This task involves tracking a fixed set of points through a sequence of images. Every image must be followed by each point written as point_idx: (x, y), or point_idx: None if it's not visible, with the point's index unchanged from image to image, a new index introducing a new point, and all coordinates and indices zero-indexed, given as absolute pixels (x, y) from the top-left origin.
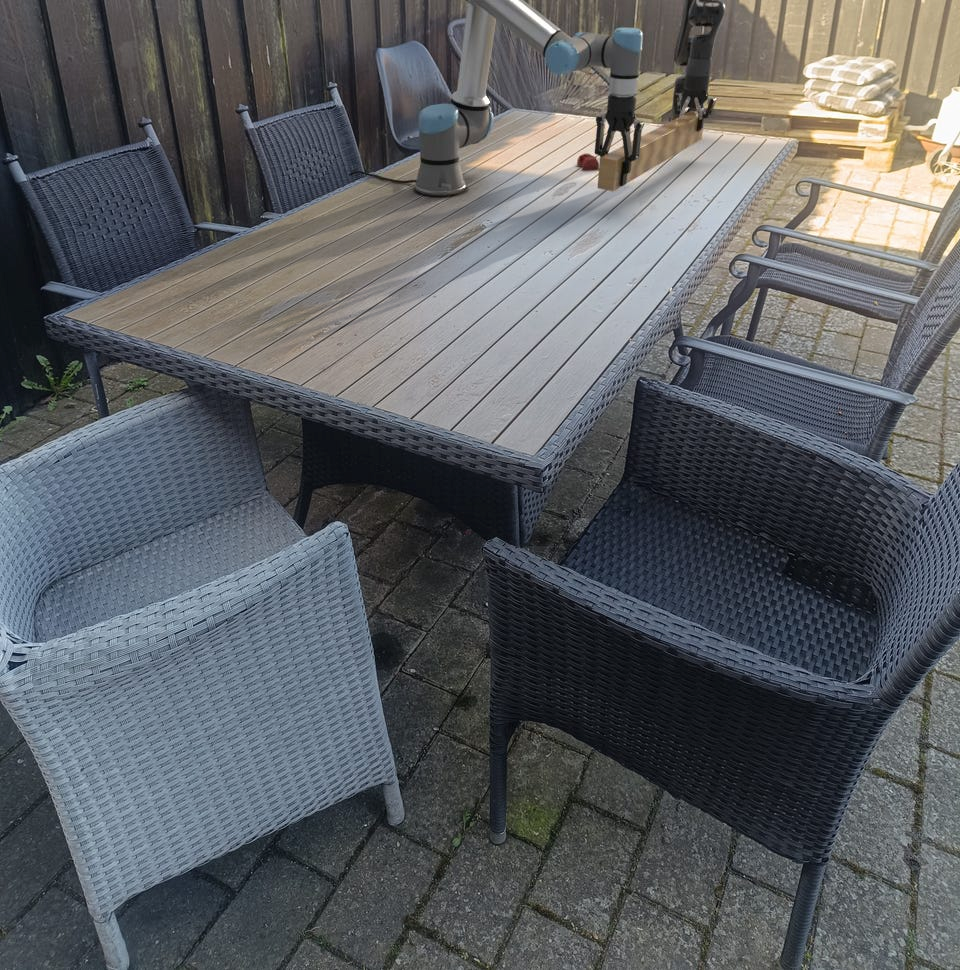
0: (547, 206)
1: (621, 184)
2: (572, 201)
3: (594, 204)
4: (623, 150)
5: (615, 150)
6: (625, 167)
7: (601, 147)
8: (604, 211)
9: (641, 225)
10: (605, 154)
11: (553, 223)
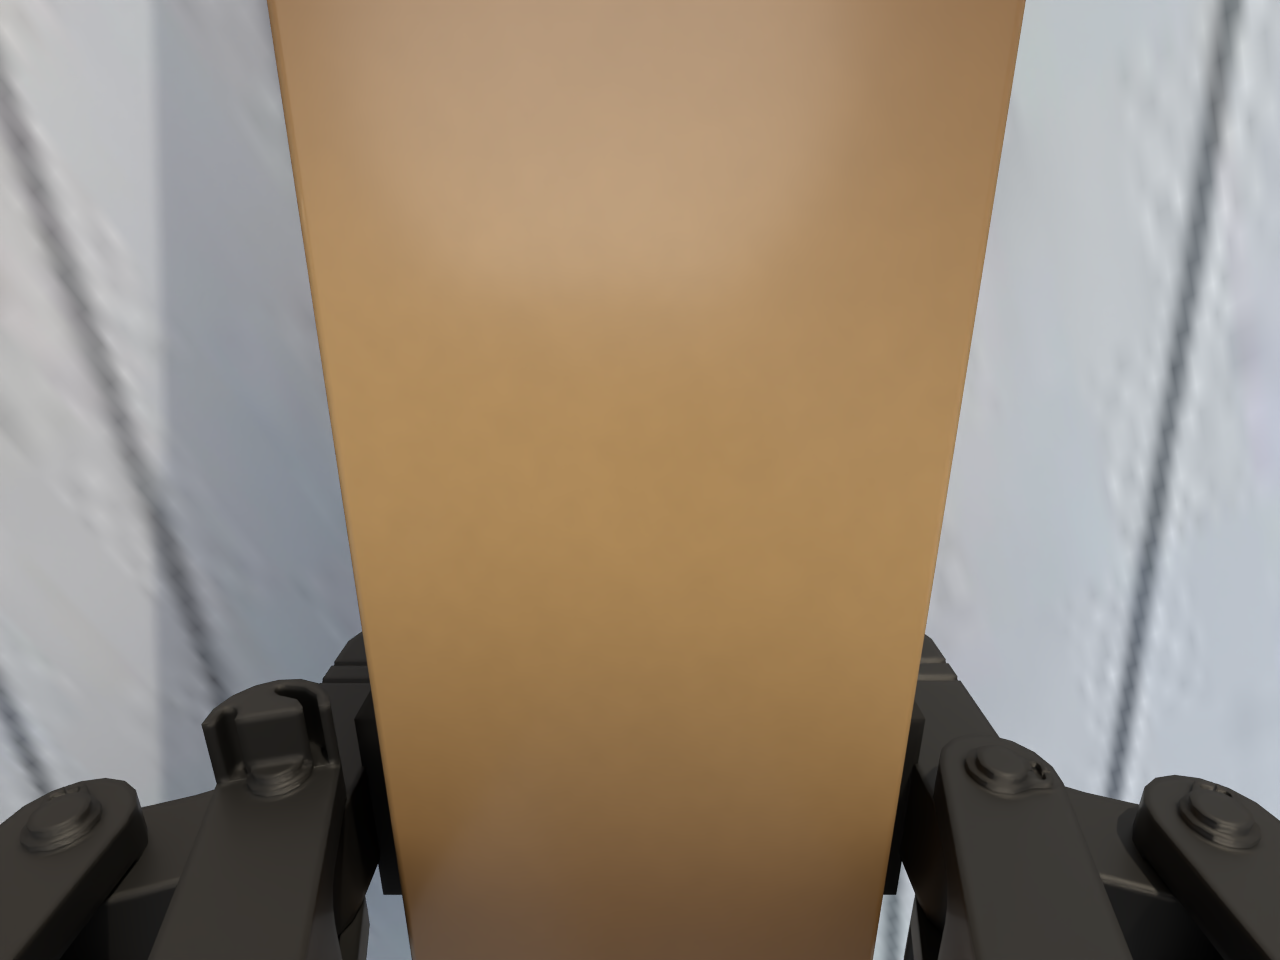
0: (131, 628)
1: None
2: (196, 394)
3: None
4: (613, 451)
5: (399, 597)
6: None
7: (54, 954)
8: None
9: (1011, 651)
10: (344, 891)
11: None
